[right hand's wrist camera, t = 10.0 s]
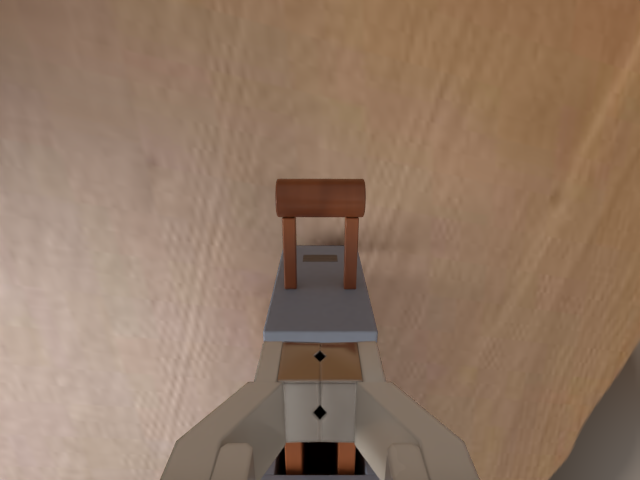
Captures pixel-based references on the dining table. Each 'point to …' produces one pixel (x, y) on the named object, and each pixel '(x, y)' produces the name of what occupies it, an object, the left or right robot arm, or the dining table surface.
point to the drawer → (320, 296)
